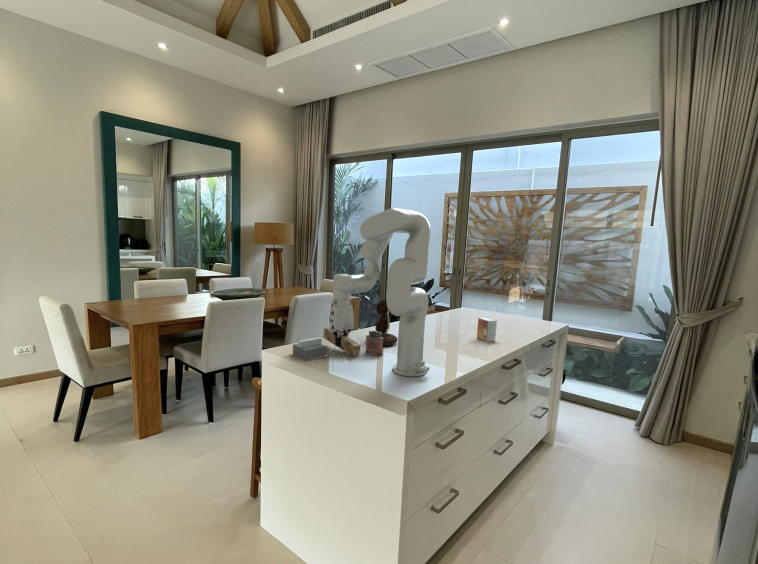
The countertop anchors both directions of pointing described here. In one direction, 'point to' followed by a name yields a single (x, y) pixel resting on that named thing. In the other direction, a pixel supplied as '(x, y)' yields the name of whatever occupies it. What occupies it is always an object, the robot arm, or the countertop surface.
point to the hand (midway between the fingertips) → (341, 344)
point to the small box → (486, 329)
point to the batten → (343, 343)
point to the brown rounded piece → (384, 323)
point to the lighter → (374, 343)
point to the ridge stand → (310, 348)
